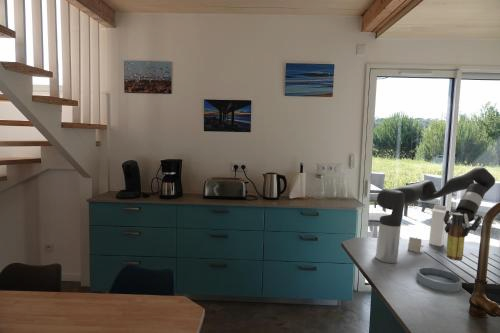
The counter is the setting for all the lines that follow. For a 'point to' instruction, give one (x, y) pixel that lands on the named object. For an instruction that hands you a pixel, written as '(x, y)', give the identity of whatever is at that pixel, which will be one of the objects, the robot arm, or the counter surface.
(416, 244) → the beige square block
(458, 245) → the sauce bottle
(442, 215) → the milk
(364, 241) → the counter surface
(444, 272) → the round grey tray
